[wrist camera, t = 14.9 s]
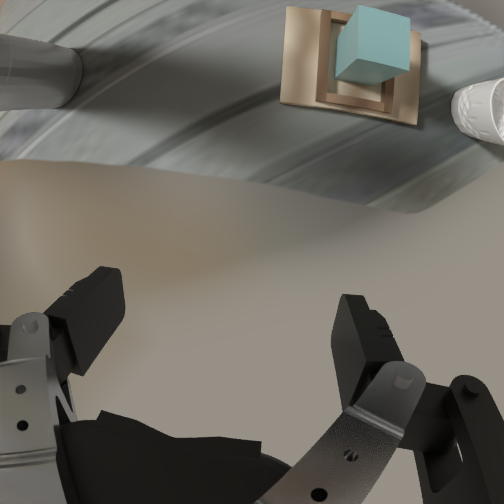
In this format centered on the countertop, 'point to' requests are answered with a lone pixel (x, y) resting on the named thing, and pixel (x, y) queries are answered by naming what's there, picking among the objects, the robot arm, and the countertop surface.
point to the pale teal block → (373, 47)
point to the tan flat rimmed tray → (323, 70)
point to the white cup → (480, 111)
